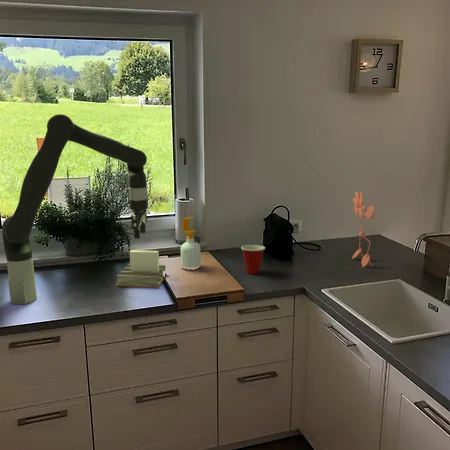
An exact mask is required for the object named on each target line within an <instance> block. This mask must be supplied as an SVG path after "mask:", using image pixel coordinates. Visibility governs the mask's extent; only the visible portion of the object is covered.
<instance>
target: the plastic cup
mask: <svg viewBox="0 0 450 450" xmlns="http://www.w3.org/2000/svg"><path fill="white" fill-rule="evenodd" d="M240 248H241V250H242V256H243V261H244V266H245V270H246V273H247V274H248V275H257V274H259V273H260V270H261V266H262V261H263V254H264V251H265V249H266V247H265V246H264V245H259V244H246V245H242V246H241V247H240Z"/></svg>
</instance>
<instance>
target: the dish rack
mask: <svg viewBox="0 0 450 450" xmlns="http://www.w3.org/2000/svg"><path fill="white" fill-rule="evenodd" d="M123 269H124V271H123V270H121V271H120V274H117V275H116V278H117V282H116V284H115V286H116V287H132V288H137V287H138V288H156V289H157V288H159V287H160V285H161V284H162V283H163V282H164V280H165V278H164V279H163V271H165V270H166V265H165V264H159V272H132V271H131V267H130V263H127V267H124V268H123Z"/></svg>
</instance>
